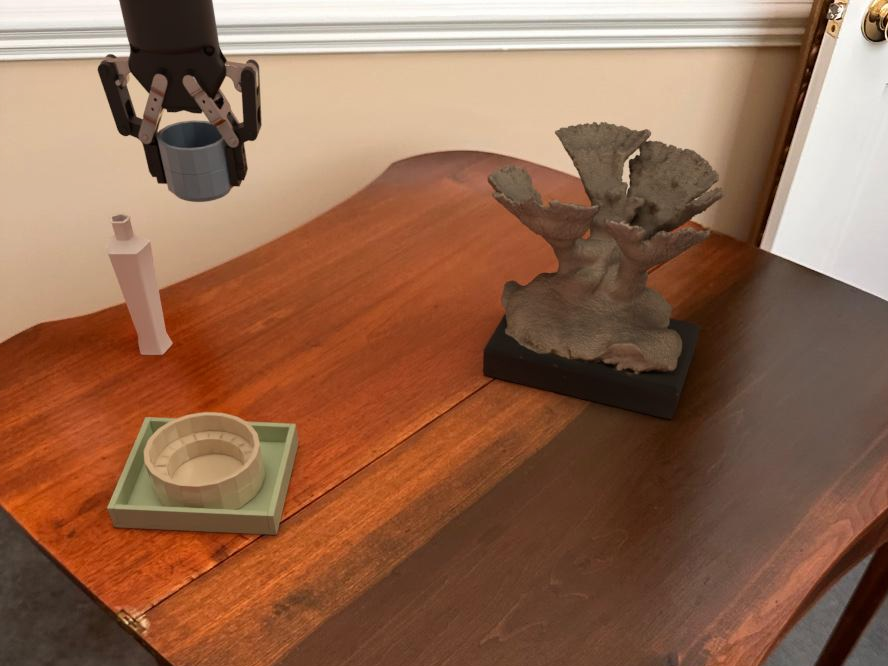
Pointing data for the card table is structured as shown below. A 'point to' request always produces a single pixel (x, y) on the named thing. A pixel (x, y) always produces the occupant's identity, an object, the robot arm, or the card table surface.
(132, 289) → the perfume bottle
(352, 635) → the card table surface
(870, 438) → the card table surface
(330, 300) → the card table surface
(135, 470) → the tray
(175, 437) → the large bowl
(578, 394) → the coral
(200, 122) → the blue cup
